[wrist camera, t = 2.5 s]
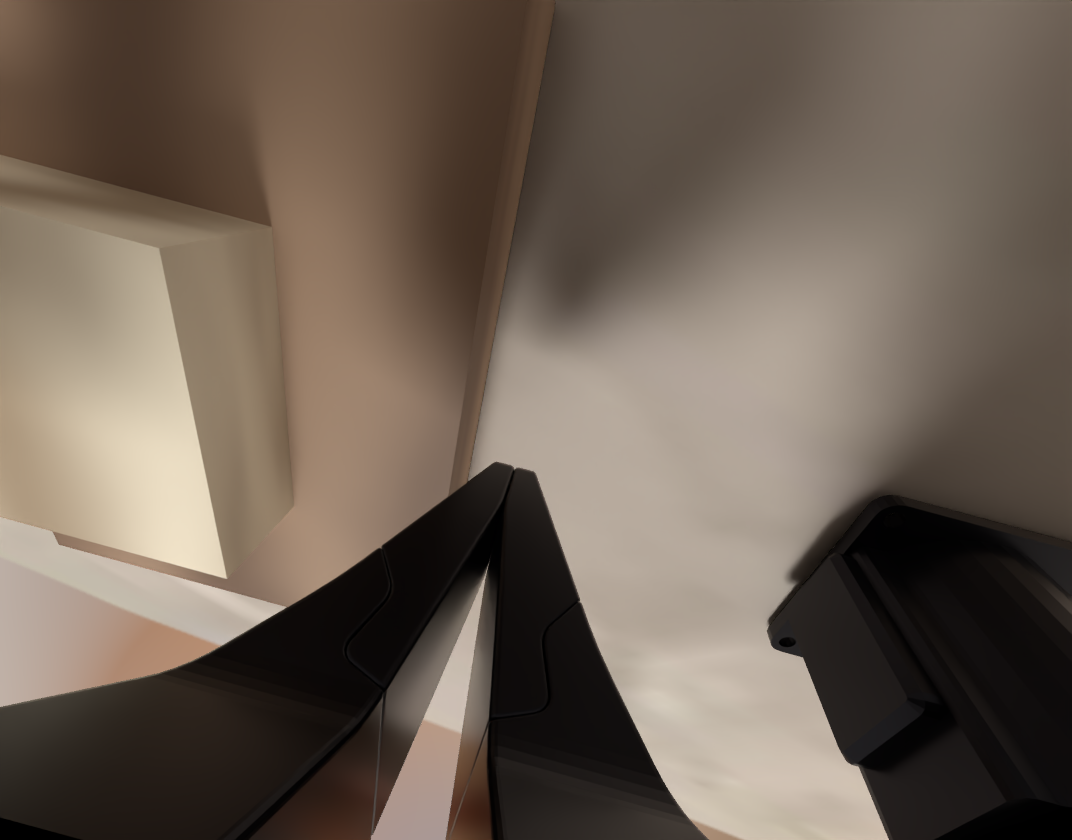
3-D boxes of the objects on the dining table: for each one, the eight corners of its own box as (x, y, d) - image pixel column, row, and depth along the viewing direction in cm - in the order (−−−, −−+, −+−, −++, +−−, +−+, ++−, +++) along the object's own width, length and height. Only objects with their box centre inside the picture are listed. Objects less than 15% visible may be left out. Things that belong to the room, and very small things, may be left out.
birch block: (271, 226, 8) (158, 248, 6) (293, 506, 12) (227, 578, 10) (-93, 129, 8) (-325, 118, 6) (39, 437, 12) (-80, 494, 10)
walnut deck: (555, 3, 8) (536, -56, 6) (448, 580, 16) (424, 644, 14) (-83, -164, 8) (-332, -281, 6) (130, 494, 16) (58, 544, 14)
